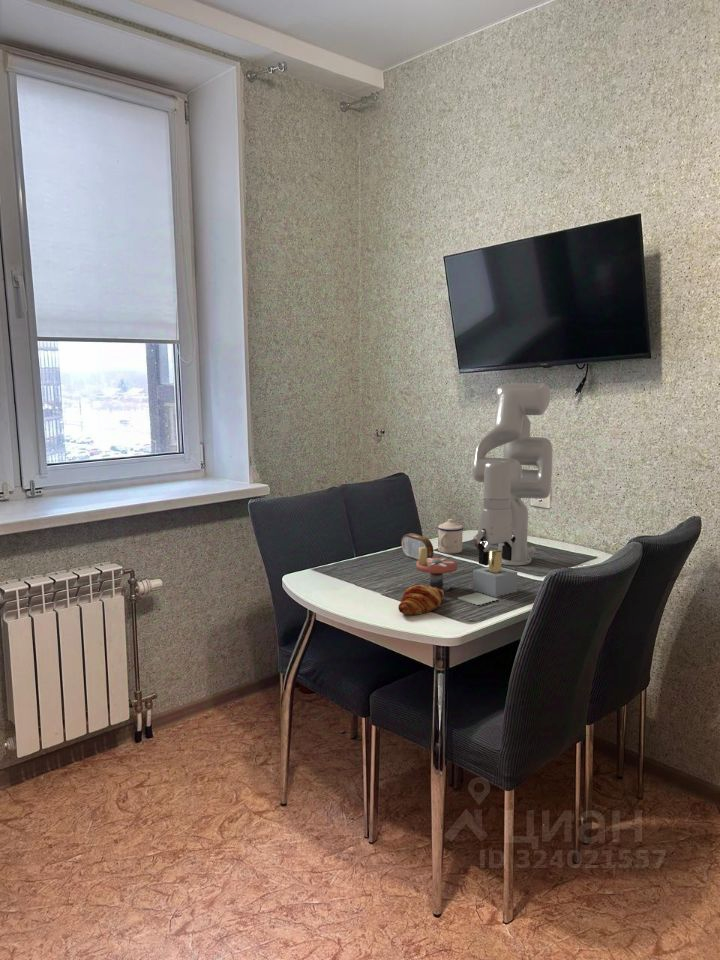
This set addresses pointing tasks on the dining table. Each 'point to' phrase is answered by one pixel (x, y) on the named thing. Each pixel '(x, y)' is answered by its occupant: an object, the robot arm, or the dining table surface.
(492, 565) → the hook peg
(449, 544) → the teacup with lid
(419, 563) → the handwheel
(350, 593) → the dining table surface
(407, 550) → the tin
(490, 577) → the eye block
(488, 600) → the sage mat
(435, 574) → the wheel post
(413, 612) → the croissant
